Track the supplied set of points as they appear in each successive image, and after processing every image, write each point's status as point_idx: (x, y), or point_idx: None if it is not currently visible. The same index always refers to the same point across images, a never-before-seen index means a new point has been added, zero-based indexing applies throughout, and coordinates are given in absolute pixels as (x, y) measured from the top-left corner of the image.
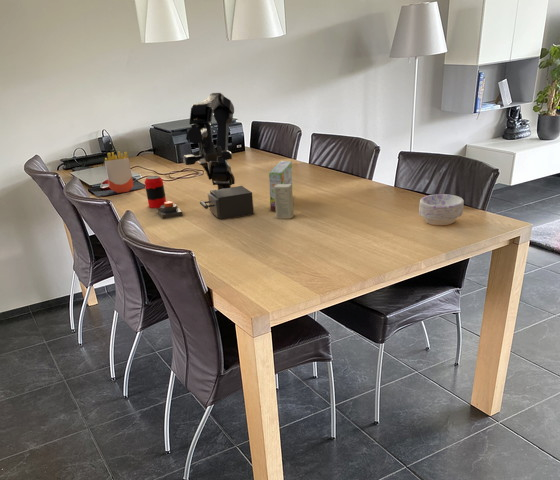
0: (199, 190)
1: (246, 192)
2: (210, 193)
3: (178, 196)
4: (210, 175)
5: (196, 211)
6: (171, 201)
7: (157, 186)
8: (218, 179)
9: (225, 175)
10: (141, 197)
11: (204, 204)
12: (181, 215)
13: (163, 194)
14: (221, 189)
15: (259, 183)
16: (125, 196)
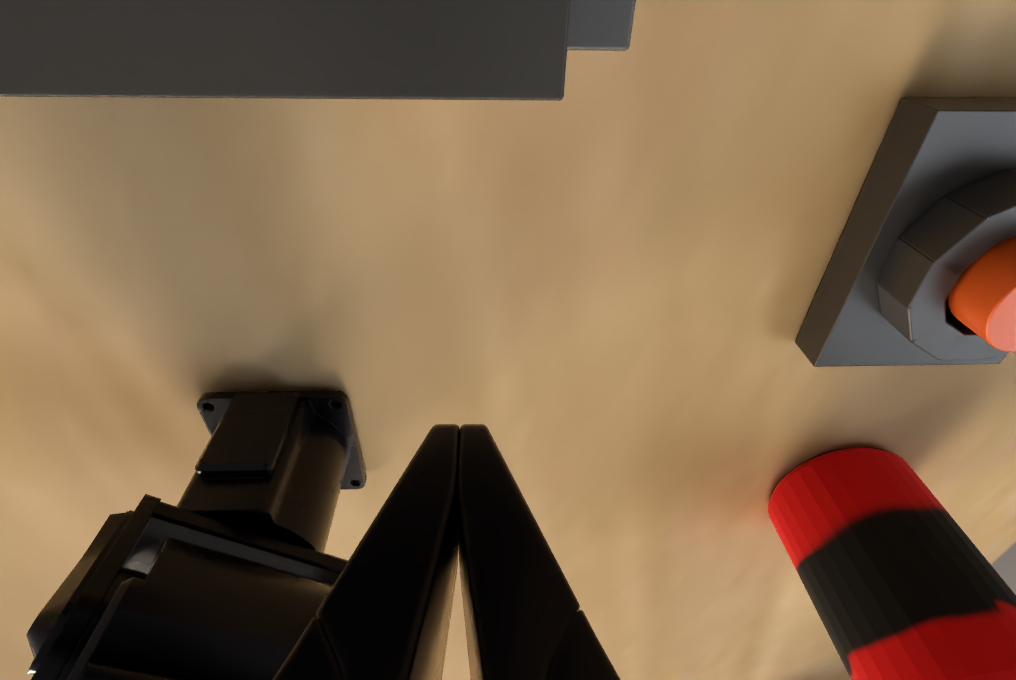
0: None
1: None
2: (568, 31)
3: (606, 590)
4: (444, 495)
5: (679, 185)
6: (993, 323)
7: (980, 621)
8: (280, 586)
9: (133, 610)
10: (785, 637)
11: None
12: (916, 97)
13: (855, 547)
14: (262, 30)
15: (12, 614)
16: (832, 668)
